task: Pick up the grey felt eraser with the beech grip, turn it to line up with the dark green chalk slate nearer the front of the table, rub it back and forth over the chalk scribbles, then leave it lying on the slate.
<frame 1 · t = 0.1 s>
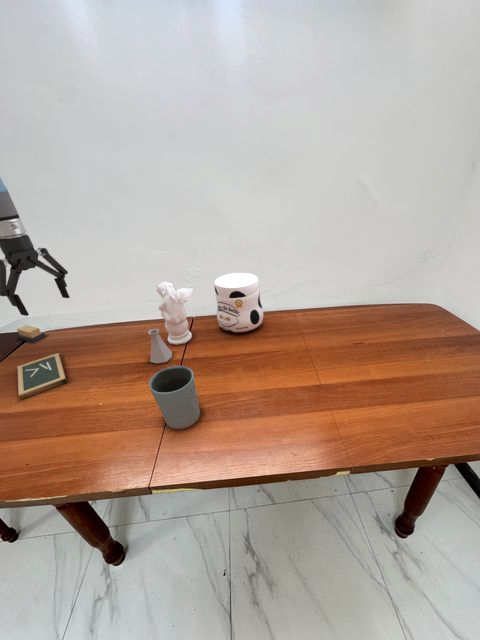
hand: (46, 305, 94), 18 cm above the table, tool pointing down, fingers open, 13 cm apart
flask: (161, 358, 97), on the table
milk container: (241, 326, 112), on the table
cherub figurine: (185, 338, 106), on the table
slate: (42, 376, 92), on the table
grey cup: (182, 416, 74), on the table
eraser: (32, 337, 114), on the table
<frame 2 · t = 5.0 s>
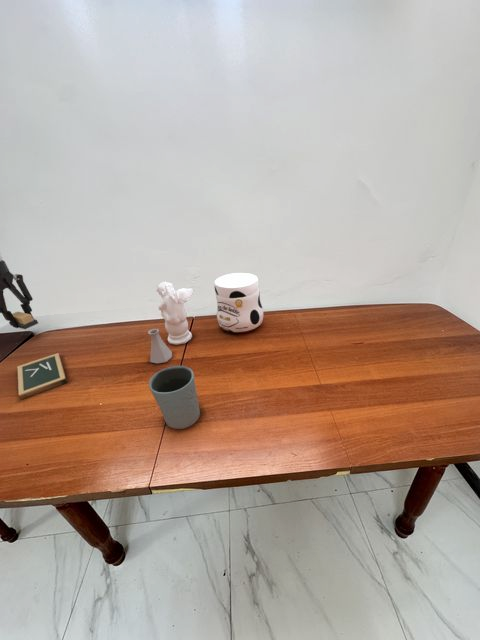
hand: (24, 323, 111), 6 cm above the table, tool pointing down, fingers closed on eraser, 5 cm apart
eraser: (24, 324, 111), point 6 cm above the table, touching gripper
everything else where it was.
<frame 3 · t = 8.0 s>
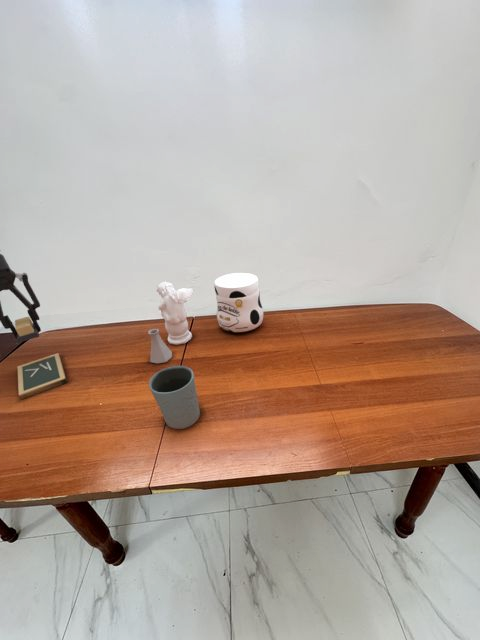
hand: (28, 333, 90), 12 cm above the table, tool pointing down, fingers closed on eraser, 5 cm apart
eraser: (29, 334, 90), point 12 cm above the table, touching gripper
everything else where it was.
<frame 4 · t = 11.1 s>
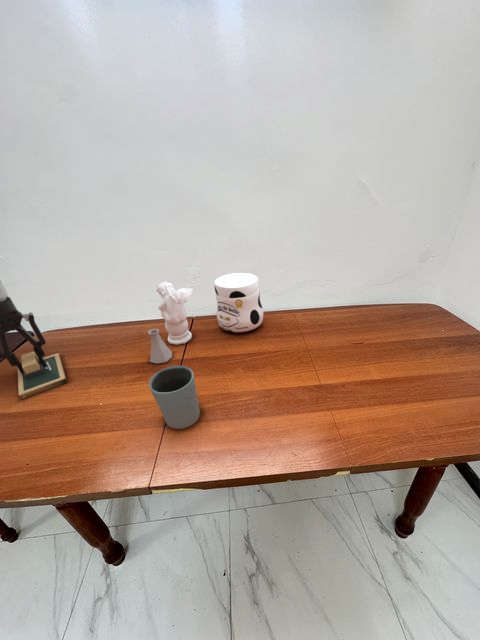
hand: (34, 368, 93), 2 cm above the table, tool pointing down, fingers closed on eraser, 5 cm apart
eraser: (34, 369, 93), point 2 cm above the table, touching gripper, slate
everything else where it was.
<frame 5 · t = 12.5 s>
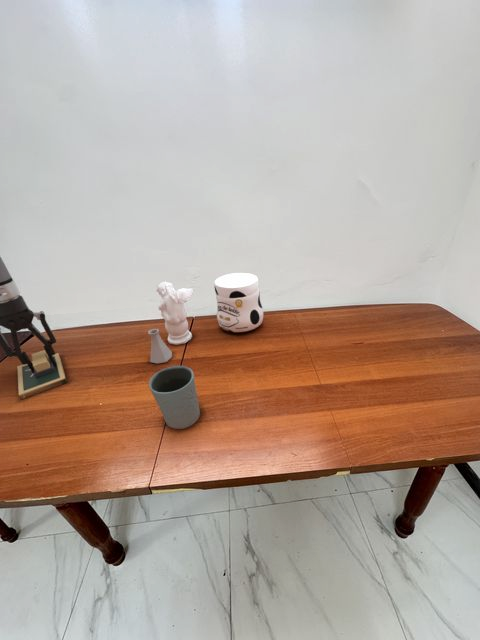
hand: (44, 367, 93), 2 cm above the table, tool pointing down, fingers closed on eraser, 5 cm apart
eraser: (44, 367, 93), point 2 cm above the table, touching gripper
everything else where it was.
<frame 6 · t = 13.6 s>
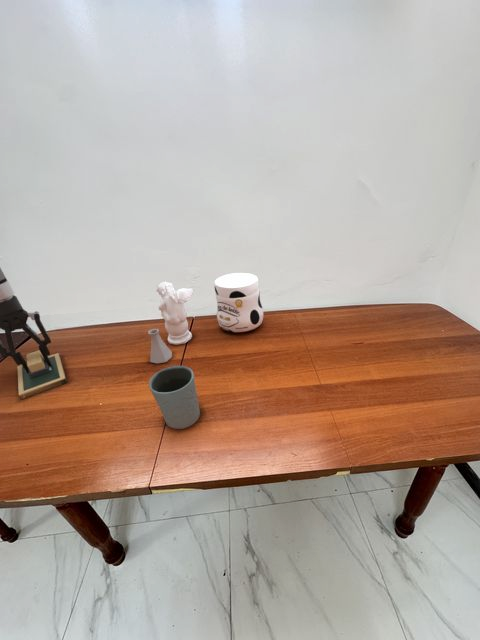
hand: (39, 367, 93), 2 cm above the table, tool pointing down, fingers closed on eraser, 5 cm apart
eraser: (39, 368, 93), point 2 cm above the table, touching gripper
everything else where it was.
when the fingers open (2 cm above the table, at t = 16.9 s): eraser stays where it is, resting on slate.
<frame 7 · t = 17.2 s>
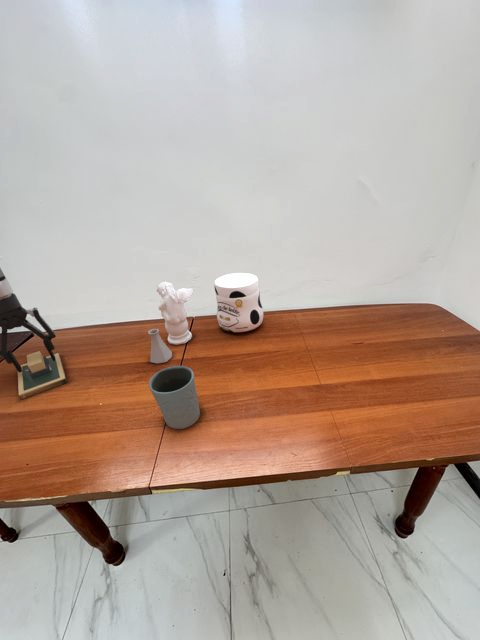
hand: (37, 364, 92), 3 cm above the table, tool pointing down, fingers open, 8 cm apart
eraser: (40, 368, 93), point 1 cm above the table, touching slate
everything else where it was.
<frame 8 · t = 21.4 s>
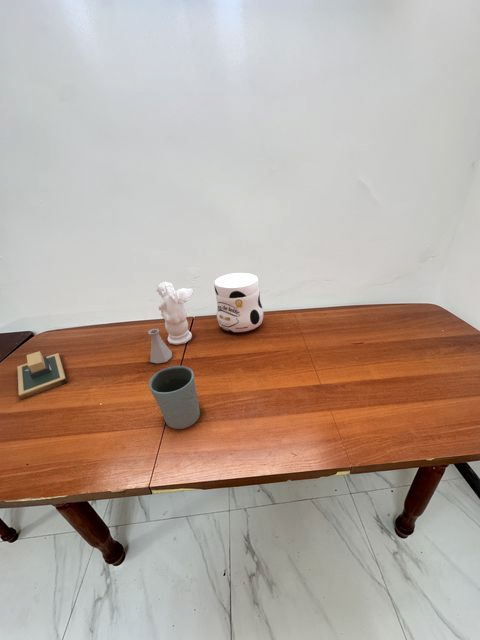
nothing on the table moved.
at the end: eraser inside the target area on the slate (2.6 cm from its centre), point 1.4 cm above the slate's base; eraser tilted 0°; the gripper is holding nothing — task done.
